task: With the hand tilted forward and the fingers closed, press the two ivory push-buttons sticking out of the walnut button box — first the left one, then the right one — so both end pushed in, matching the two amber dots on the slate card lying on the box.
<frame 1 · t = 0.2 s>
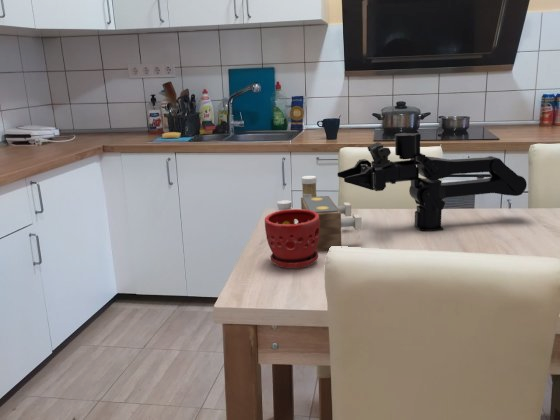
hand: (340, 177, 148), 16 cm above the table, tool horizontal, fingers open, 9 cm apart
button left: (341, 222, 139), point 7 cm above the table, slide at 0.0 cm
button right: (333, 210, 152), point 7 cm above the table, slide at 0.0 cm
supplement bottle: (285, 235, 153), on the table
plant pot: (293, 263, 131), on the table
sprinkles bottle: (310, 219, 168), on the table
button box: (320, 240, 147), on the table
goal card: (319, 204, 145), resting on button box
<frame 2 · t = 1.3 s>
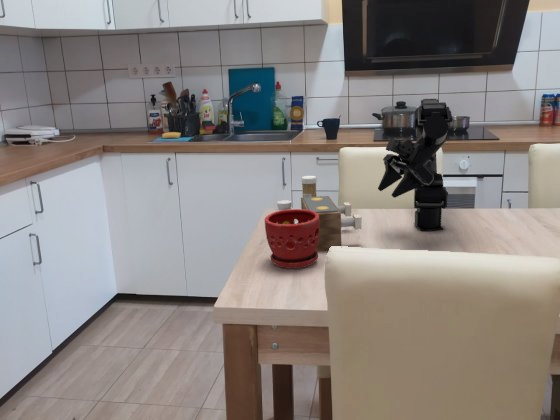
hand: (385, 193, 139), 14 cm above the table, tool tilted 45°, fingers open, 8 cm apart
nothing on the table moved.
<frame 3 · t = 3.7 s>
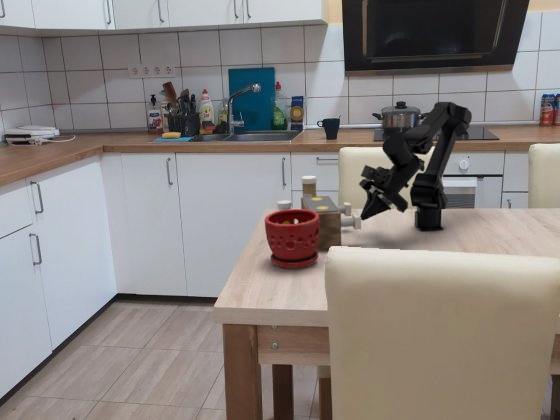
hand: (361, 219, 139), 7 cm above the table, tool tilted 45°, fingers closed
button left: (341, 222, 139), point 7 cm above the table, slide at 0.1 cm, touching gripper
everything else where it was.
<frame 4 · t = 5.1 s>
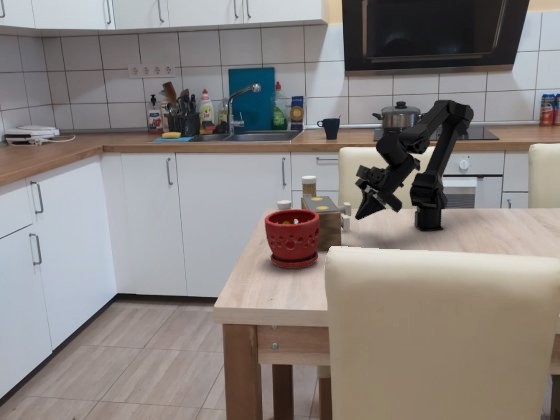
hand: (356, 219, 140), 7 cm above the table, tool tilted 45°, fingers closed
button left: (330, 223, 139), point 6 cm above the table, slide at 3.1 cm
everything else where it was.
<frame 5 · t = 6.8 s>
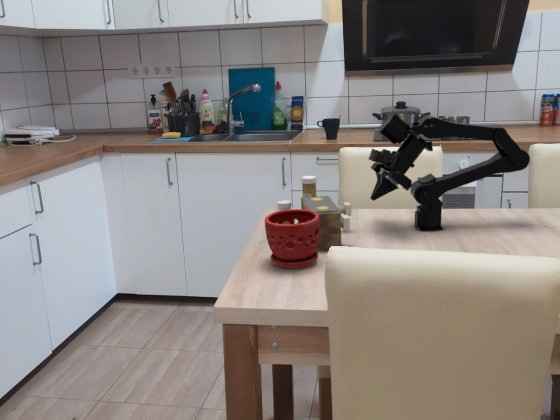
hand: (371, 199, 150), 9 cm above the table, tool tilted 40°, fingers closed
nothing on the table moved.
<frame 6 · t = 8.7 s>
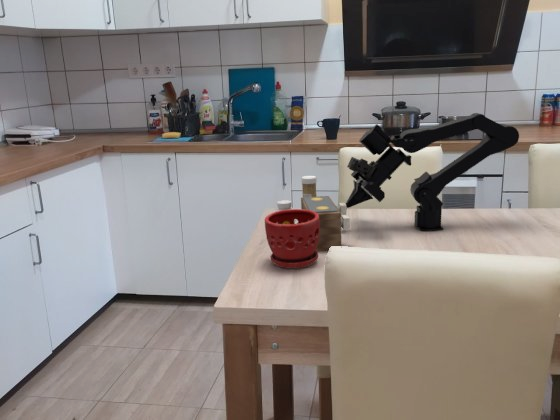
hand: (346, 206, 152), 7 cm above the table, tool tilted 45°, fingers closed, pressing on button right
button right: (328, 210, 152), point 7 cm above the table, slide at 1.4 cm, touching gripper
everything else where it was.
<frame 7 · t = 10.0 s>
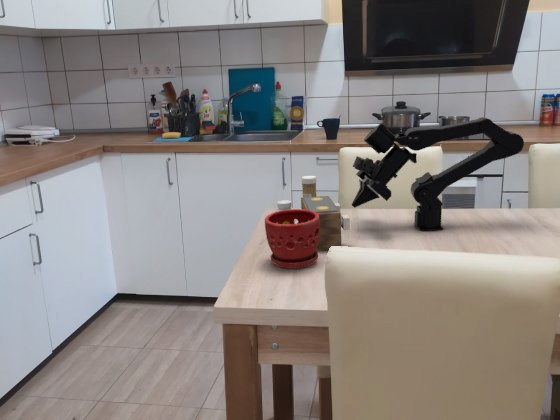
hand: (352, 206, 152), 7 cm above the table, tool tilted 45°, fingers closed
button right: (322, 210, 152), point 7 cm above the table, slide at 3.1 cm
everything else where it was.
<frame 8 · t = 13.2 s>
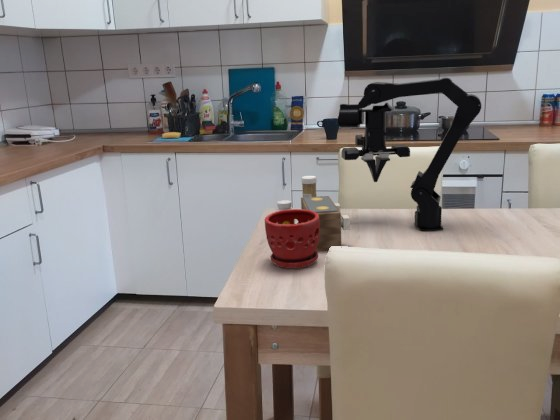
hand: (375, 181, 156), 13 cm above the table, tool pointing down, fingers closed
nothing on the table moved.
at the end: button left slide at 3.1 cm; button right slide at 3.1 cm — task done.
